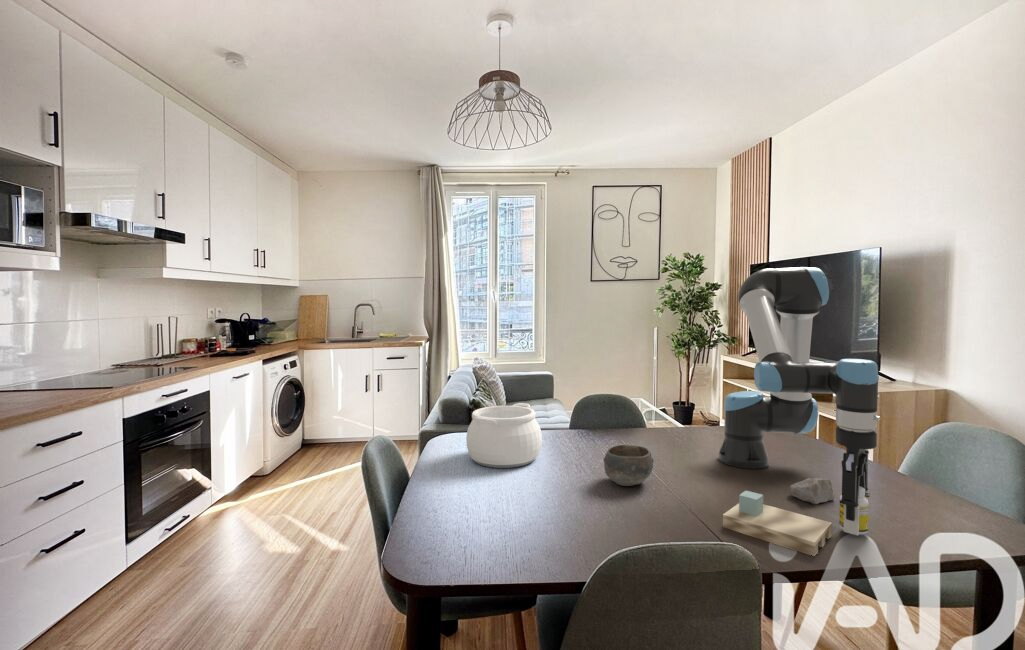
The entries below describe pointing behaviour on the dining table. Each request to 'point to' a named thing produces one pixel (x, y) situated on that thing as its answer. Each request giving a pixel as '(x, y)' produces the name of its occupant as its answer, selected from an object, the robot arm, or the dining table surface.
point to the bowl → (628, 464)
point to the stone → (813, 490)
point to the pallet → (781, 528)
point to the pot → (504, 436)
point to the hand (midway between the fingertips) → (854, 528)
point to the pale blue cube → (751, 503)
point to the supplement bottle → (863, 512)
